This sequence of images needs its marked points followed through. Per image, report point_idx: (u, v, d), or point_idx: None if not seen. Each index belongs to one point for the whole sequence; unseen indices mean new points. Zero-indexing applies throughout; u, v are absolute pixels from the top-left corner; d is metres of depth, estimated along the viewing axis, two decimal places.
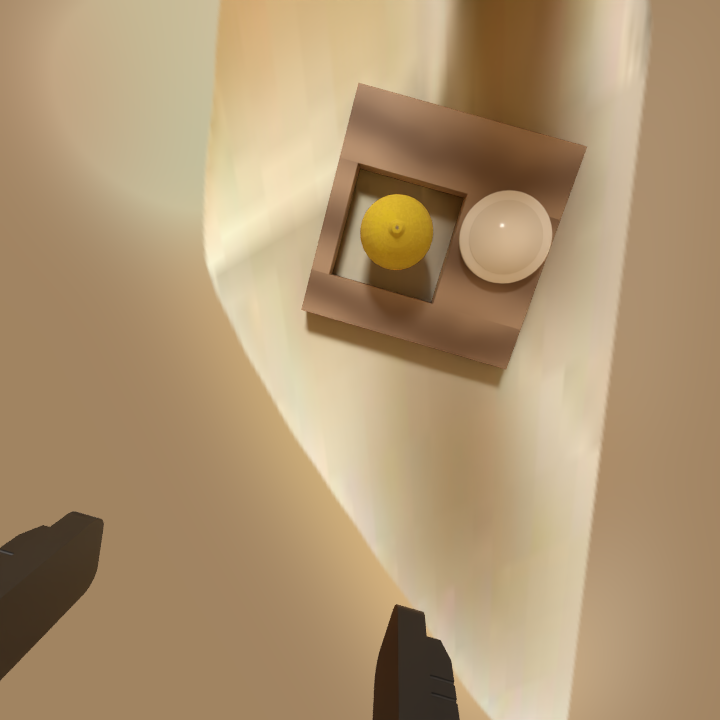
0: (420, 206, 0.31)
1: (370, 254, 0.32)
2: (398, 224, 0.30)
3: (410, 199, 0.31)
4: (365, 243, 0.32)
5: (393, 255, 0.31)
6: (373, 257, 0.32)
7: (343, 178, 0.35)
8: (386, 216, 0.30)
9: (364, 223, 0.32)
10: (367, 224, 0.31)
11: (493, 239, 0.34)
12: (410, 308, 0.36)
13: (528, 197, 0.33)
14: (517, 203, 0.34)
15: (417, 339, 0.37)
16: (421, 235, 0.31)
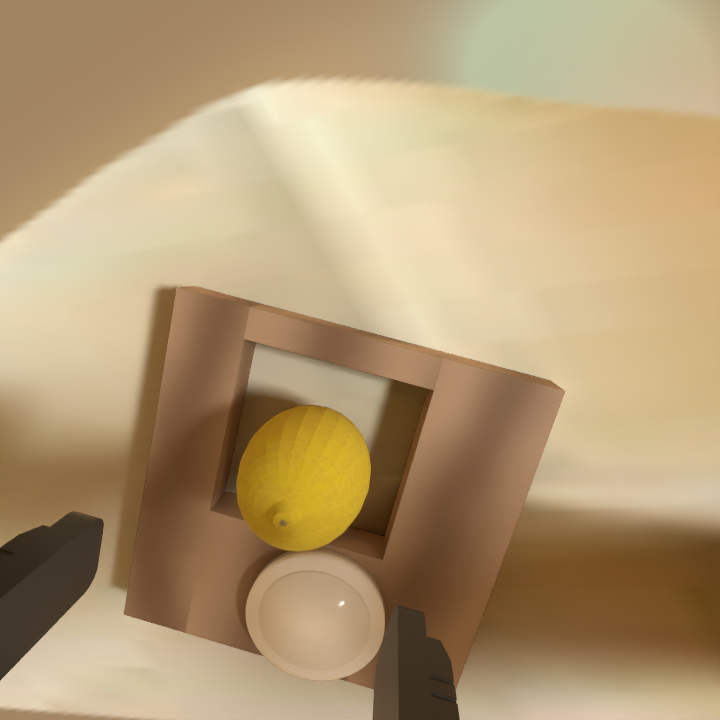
0: (338, 535, 0.17)
1: (254, 443, 0.17)
2: (289, 524, 0.15)
3: (349, 520, 0.17)
4: (272, 436, 0.17)
5: (243, 500, 0.16)
6: (249, 448, 0.17)
7: (407, 365, 0.20)
8: (309, 494, 0.15)
9: (306, 436, 0.17)
10: (300, 448, 0.16)
11: (310, 605, 0.21)
12: (199, 476, 0.22)
13: (374, 650, 0.22)
14: (365, 635, 0.22)
15: (151, 487, 0.22)
16: (282, 548, 0.17)
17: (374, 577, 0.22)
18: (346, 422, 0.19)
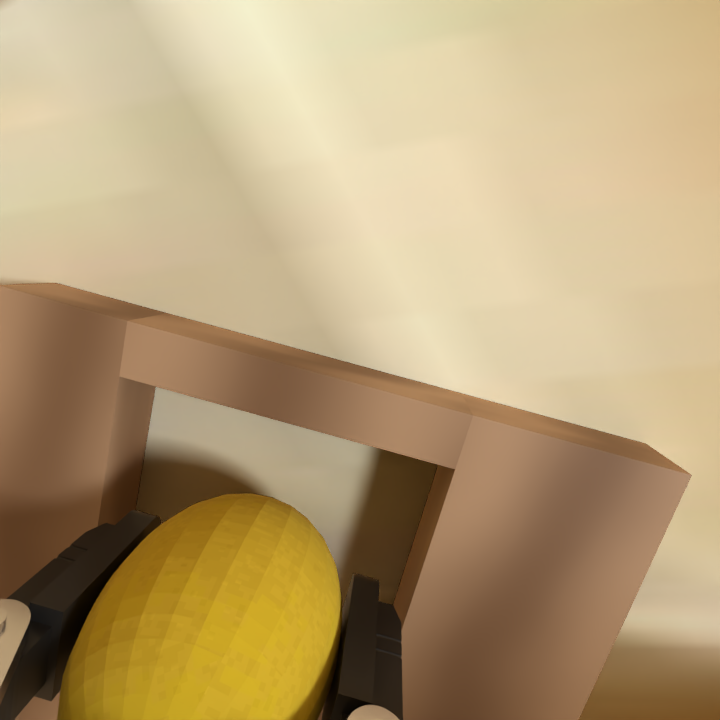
0: None
1: (101, 603, 0.08)
2: None
3: None
4: (131, 595, 0.08)
5: None
6: (93, 611, 0.09)
7: (409, 425, 0.11)
8: None
9: (200, 601, 0.08)
10: (182, 635, 0.07)
11: None
12: None
13: None
14: None
15: None
16: None
17: None
18: (296, 537, 0.10)
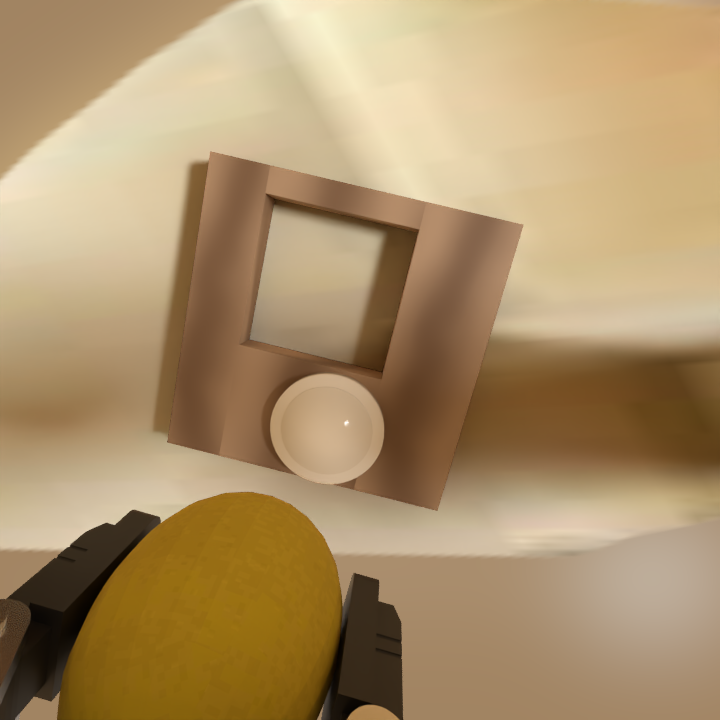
0: None
1: (101, 601, 0.08)
2: None
3: None
4: (131, 593, 0.08)
5: None
6: (93, 610, 0.09)
7: (398, 209, 0.25)
8: None
9: (200, 599, 0.08)
10: (181, 634, 0.07)
11: (323, 416, 0.26)
12: (230, 314, 0.26)
13: (376, 453, 0.27)
14: (368, 441, 0.27)
15: (190, 326, 0.27)
16: None
17: (375, 395, 0.27)
18: (296, 535, 0.10)
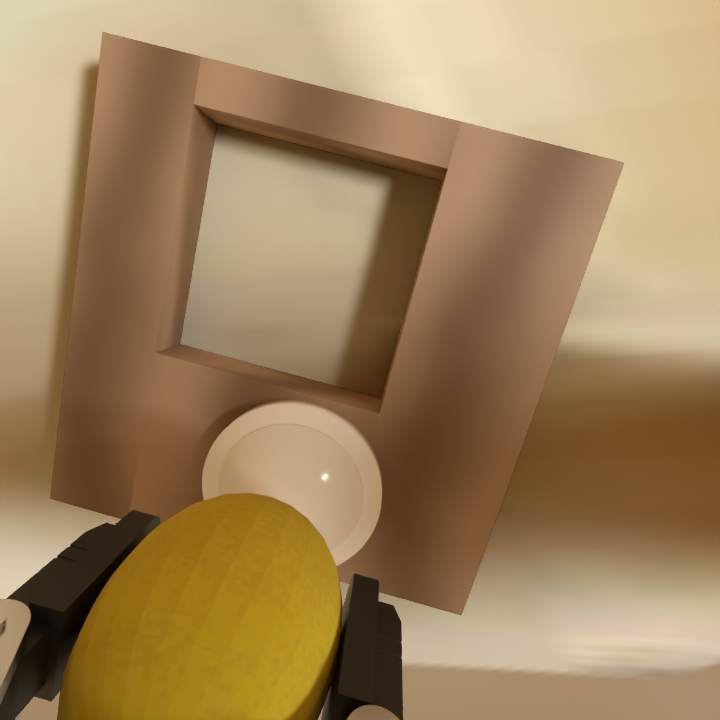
0: None
1: (101, 603, 0.08)
2: None
3: None
4: (131, 595, 0.08)
5: None
6: (93, 611, 0.09)
7: (413, 133, 0.15)
8: None
9: (200, 601, 0.08)
10: (182, 635, 0.07)
11: (285, 470, 0.17)
12: (140, 305, 0.17)
13: (368, 530, 0.17)
14: (356, 511, 0.17)
15: (79, 322, 0.17)
16: None
17: (368, 437, 0.17)
18: (296, 536, 0.10)
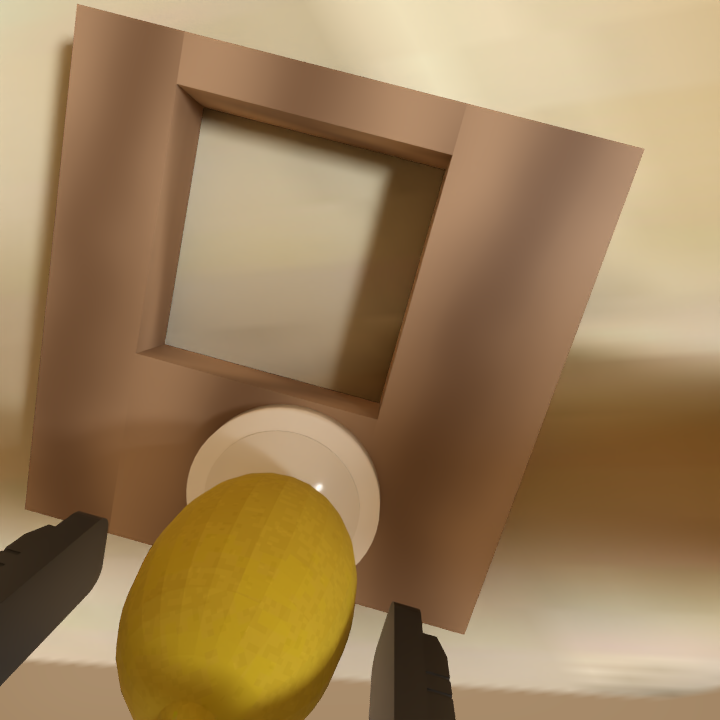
0: None
1: (150, 562, 0.10)
2: None
3: (317, 700, 0.10)
4: (178, 554, 0.09)
5: (120, 677, 0.09)
6: (143, 569, 0.10)
7: (415, 116, 0.14)
8: (234, 685, 0.08)
9: (238, 558, 0.09)
10: (224, 585, 0.09)
11: None
12: (120, 302, 0.15)
13: (365, 545, 0.16)
14: (352, 524, 0.16)
15: (54, 320, 0.16)
16: None
17: (365, 445, 0.16)
18: (316, 509, 0.11)
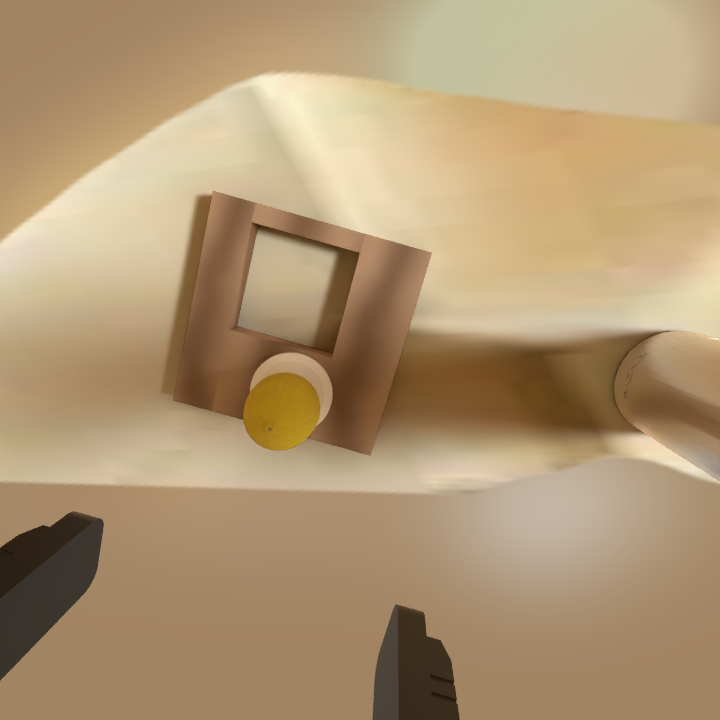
0: (300, 441, 0.31)
1: (253, 391, 0.31)
2: (273, 430, 0.29)
3: (306, 432, 0.31)
4: (263, 387, 0.31)
5: (248, 420, 0.30)
6: (251, 394, 0.31)
7: (345, 237, 0.35)
8: (283, 415, 0.29)
9: (282, 387, 0.31)
10: (279, 392, 0.30)
11: None
12: (223, 307, 0.37)
13: (326, 411, 0.37)
14: (320, 402, 0.37)
15: (193, 315, 0.37)
16: (268, 446, 0.31)
17: (326, 369, 0.37)
18: (306, 381, 0.33)
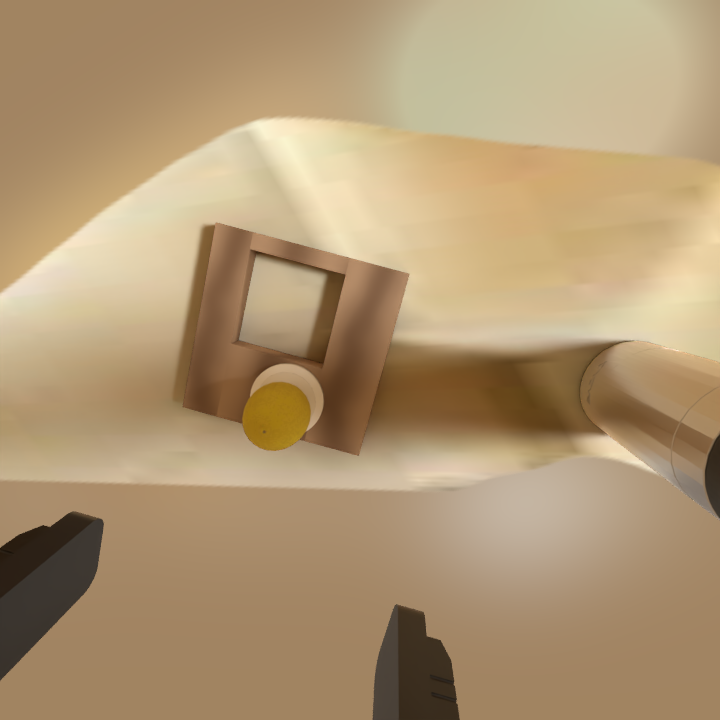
0: (291, 442, 0.35)
1: (251, 398, 0.36)
2: (267, 432, 0.33)
3: (297, 434, 0.35)
4: (259, 395, 0.35)
5: (246, 424, 0.35)
6: (248, 401, 0.36)
7: (332, 261, 0.39)
8: (276, 419, 0.34)
9: (276, 394, 0.35)
10: (273, 399, 0.34)
11: None
12: (225, 324, 0.41)
13: (317, 416, 0.41)
14: (312, 408, 0.41)
15: (200, 331, 0.42)
16: (264, 447, 0.35)
17: (318, 378, 0.41)
18: (297, 389, 0.37)
